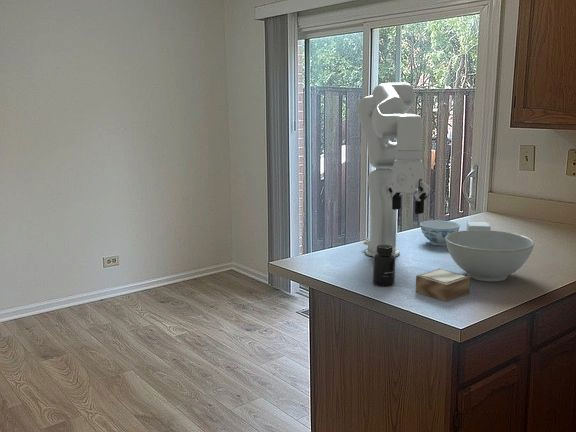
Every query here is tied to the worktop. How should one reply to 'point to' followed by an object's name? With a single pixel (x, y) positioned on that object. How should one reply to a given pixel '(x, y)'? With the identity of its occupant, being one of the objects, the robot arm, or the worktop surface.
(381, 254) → the supplement bottle
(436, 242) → the chinaware
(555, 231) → the worktop surface
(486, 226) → the supplement box
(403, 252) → the worktop surface
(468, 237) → the decorative bowl
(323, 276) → the worktop surface
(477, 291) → the worktop surface
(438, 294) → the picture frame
